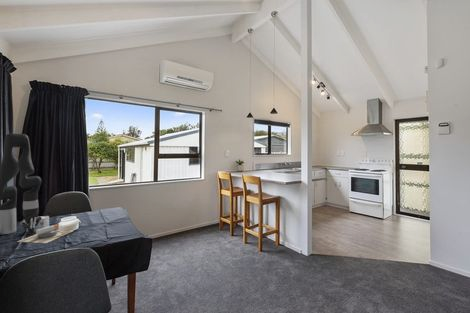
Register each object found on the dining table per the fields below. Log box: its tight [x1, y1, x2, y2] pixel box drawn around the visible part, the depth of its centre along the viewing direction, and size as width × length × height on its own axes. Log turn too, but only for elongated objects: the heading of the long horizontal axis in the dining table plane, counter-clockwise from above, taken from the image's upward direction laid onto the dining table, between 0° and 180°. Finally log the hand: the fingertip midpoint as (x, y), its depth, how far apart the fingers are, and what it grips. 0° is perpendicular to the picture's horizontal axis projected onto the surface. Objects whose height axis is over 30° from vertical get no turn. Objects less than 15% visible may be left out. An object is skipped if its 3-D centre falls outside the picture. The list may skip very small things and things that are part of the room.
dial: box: [35, 224, 59, 238], centre depth 152 cm, size 12×10×6 cm
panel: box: [16, 229, 73, 244], centre depth 152 cm, size 20×22×2 cm
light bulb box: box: [26, 215, 50, 233], centre depth 162 cm, size 11×7×11 cm, turn 105°
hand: (30, 233), depth 145 cm, fingers closed
